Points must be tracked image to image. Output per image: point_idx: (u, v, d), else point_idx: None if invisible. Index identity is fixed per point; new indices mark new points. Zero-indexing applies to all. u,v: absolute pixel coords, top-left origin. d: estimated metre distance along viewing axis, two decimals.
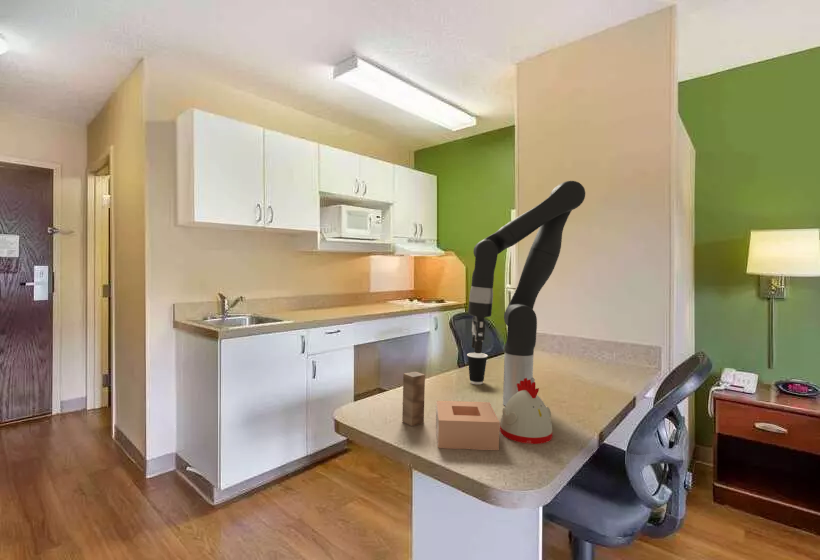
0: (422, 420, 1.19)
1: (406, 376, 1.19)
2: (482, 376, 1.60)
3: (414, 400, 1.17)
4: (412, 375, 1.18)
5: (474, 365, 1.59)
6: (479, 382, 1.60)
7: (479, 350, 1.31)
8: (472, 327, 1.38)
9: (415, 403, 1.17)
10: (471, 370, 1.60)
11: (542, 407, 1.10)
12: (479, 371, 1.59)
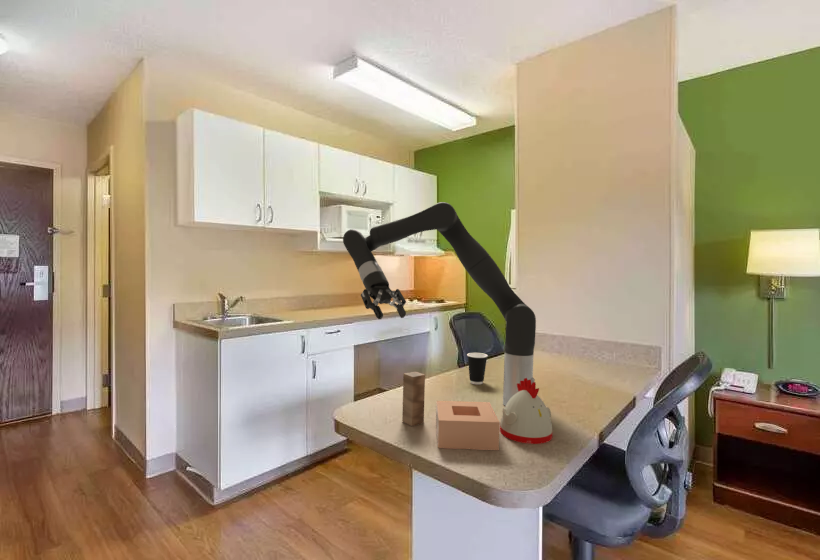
0: (422, 420, 1.19)
1: (406, 376, 1.19)
2: (482, 376, 1.60)
3: (414, 400, 1.17)
4: (412, 375, 1.18)
5: (474, 365, 1.59)
6: (479, 382, 1.60)
7: (377, 314, 1.25)
8: None
9: (415, 403, 1.17)
10: (471, 370, 1.60)
11: (542, 407, 1.10)
12: (479, 371, 1.59)
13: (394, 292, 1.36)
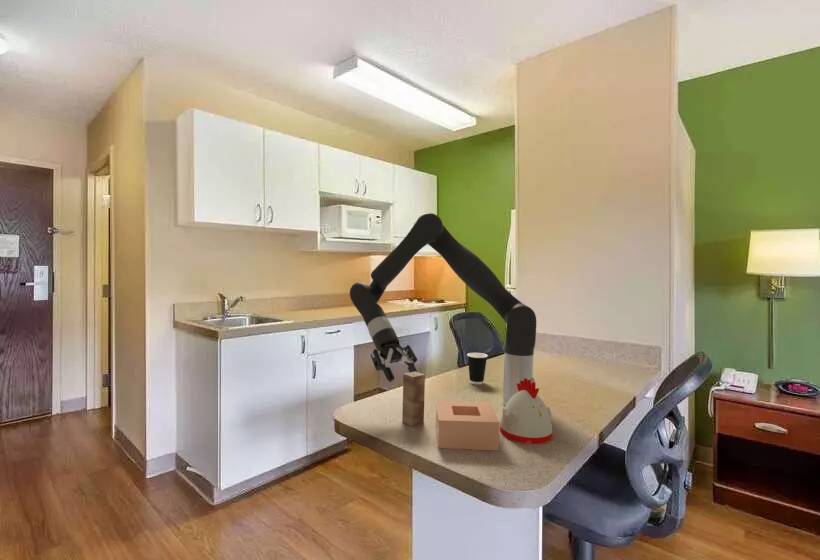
0: (422, 420, 1.19)
1: (406, 376, 1.19)
2: (482, 376, 1.60)
3: (414, 400, 1.17)
4: (412, 375, 1.18)
5: (474, 365, 1.59)
6: (479, 382, 1.60)
7: (388, 377, 1.20)
8: None
9: (415, 403, 1.17)
10: (471, 370, 1.60)
11: (542, 407, 1.10)
12: (479, 371, 1.59)
13: (404, 349, 1.31)
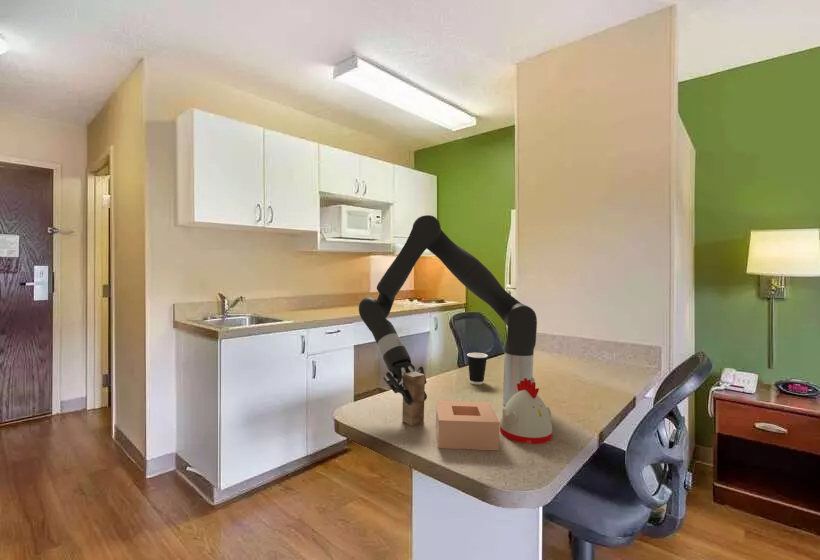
0: (422, 420, 1.19)
1: (406, 376, 1.19)
2: (482, 376, 1.60)
3: (414, 400, 1.17)
4: (412, 375, 1.18)
5: (474, 365, 1.59)
6: (479, 382, 1.60)
7: (407, 400, 1.16)
8: None
9: (415, 403, 1.17)
10: (471, 370, 1.60)
11: (542, 407, 1.10)
12: (479, 371, 1.59)
13: (417, 369, 1.26)
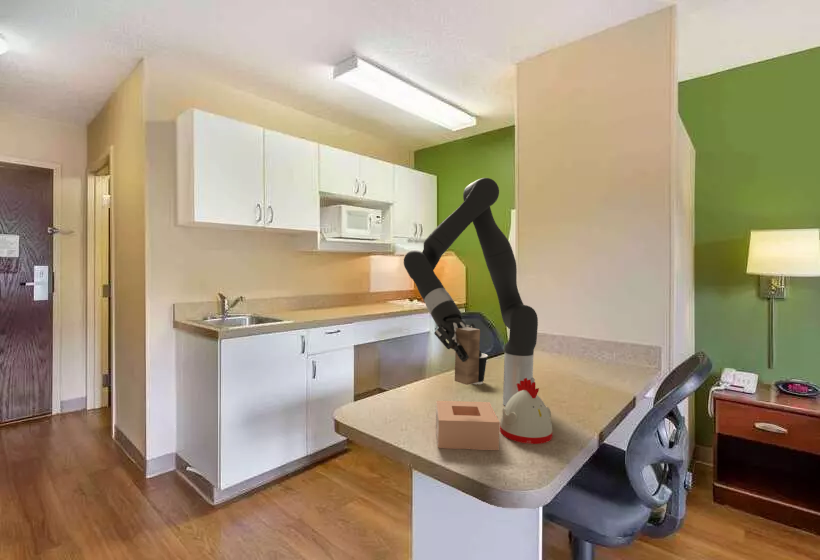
0: (477, 379, 1.09)
1: (460, 331, 1.09)
2: (482, 376, 1.60)
3: (469, 356, 1.07)
4: (467, 329, 1.08)
5: None
6: (479, 382, 1.60)
7: (462, 356, 1.07)
8: None
9: (470, 360, 1.07)
10: None
11: (542, 407, 1.10)
12: (479, 371, 1.59)
13: (468, 326, 1.16)
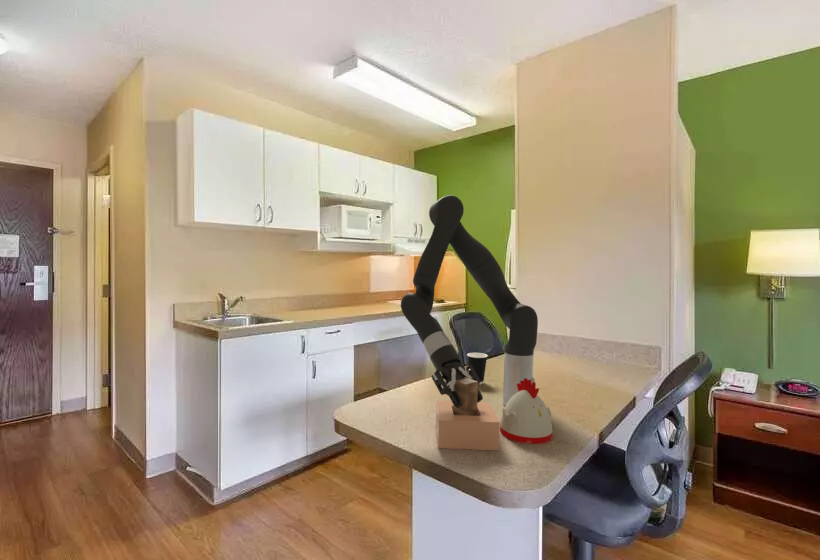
0: None
1: (458, 383, 1.09)
2: (482, 376, 1.60)
3: (467, 409, 1.08)
4: (464, 382, 1.09)
5: (474, 365, 1.59)
6: None
7: (456, 402, 1.06)
8: None
9: (468, 413, 1.08)
10: None
11: (542, 407, 1.10)
12: (479, 371, 1.59)
13: (466, 368, 1.17)
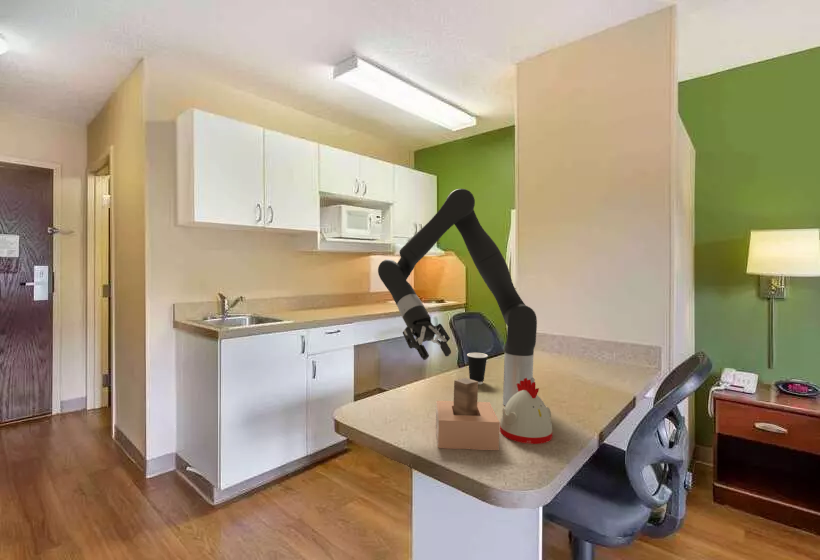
0: None
1: (458, 383, 1.09)
2: (482, 376, 1.60)
3: (467, 409, 1.08)
4: (464, 382, 1.09)
5: (474, 365, 1.59)
6: (479, 382, 1.60)
7: (422, 355, 1.16)
8: None
9: (468, 413, 1.08)
10: (471, 370, 1.60)
11: (542, 407, 1.10)
12: (479, 371, 1.59)
13: (436, 327, 1.27)
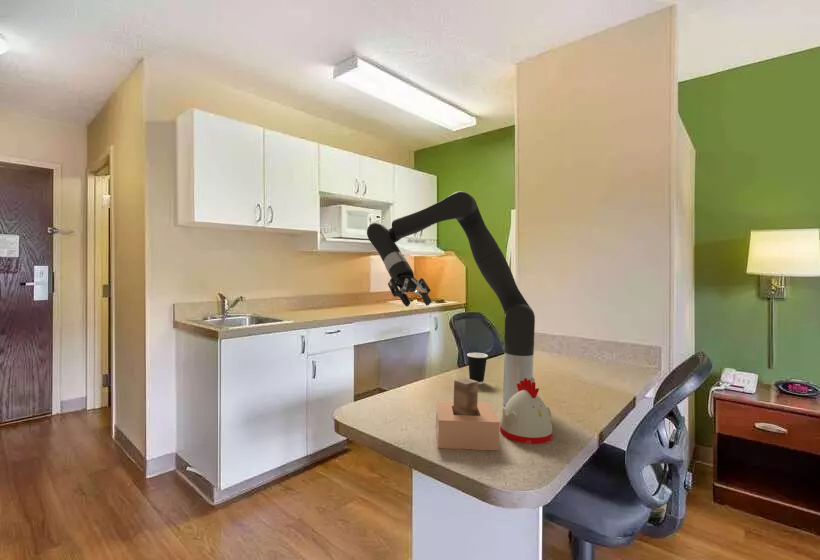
0: None
1: (458, 383, 1.09)
2: (482, 376, 1.60)
3: (467, 409, 1.08)
4: (464, 382, 1.09)
5: (474, 365, 1.59)
6: (479, 382, 1.60)
7: (405, 301, 1.31)
8: None
9: (468, 413, 1.08)
10: (471, 370, 1.60)
11: (542, 407, 1.10)
12: (479, 371, 1.59)
13: (418, 281, 1.42)
